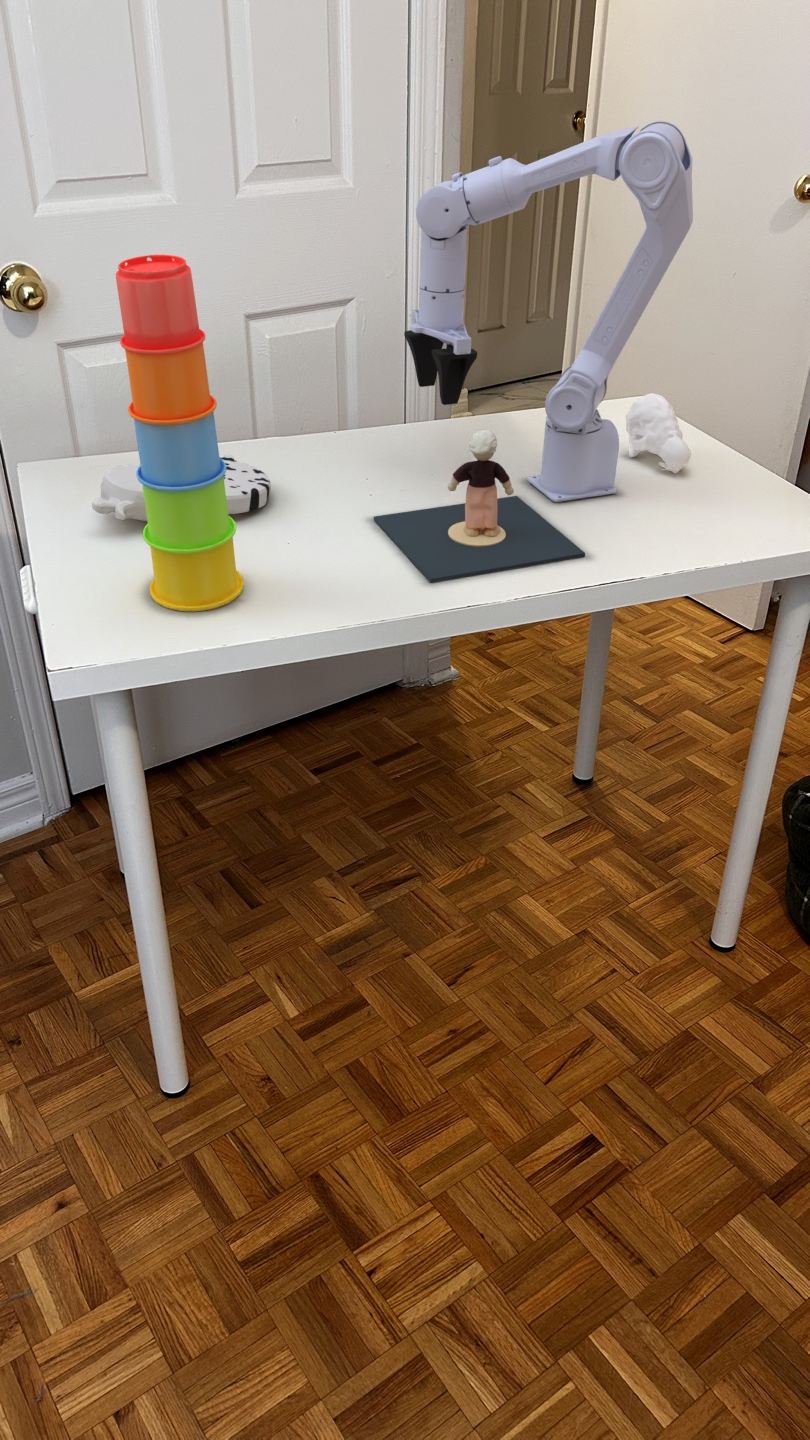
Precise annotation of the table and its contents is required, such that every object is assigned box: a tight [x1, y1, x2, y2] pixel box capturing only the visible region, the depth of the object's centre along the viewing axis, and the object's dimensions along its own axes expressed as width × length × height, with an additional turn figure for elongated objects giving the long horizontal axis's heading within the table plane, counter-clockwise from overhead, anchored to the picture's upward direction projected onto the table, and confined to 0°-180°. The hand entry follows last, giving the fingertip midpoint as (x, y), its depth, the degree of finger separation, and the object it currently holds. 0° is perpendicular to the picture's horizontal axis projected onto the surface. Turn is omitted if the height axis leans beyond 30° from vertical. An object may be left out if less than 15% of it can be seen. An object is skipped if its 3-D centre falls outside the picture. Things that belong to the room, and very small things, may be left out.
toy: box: [91, 454, 272, 522], centre depth 142 cm, size 22×5×20 cm
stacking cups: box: [115, 254, 245, 612], centre depth 114 cm, size 10×10×35 cm
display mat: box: [373, 495, 586, 583], centre depth 137 cm, size 20×18×1 cm
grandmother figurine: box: [447, 429, 515, 537], centre depth 133 cm, size 8×4×13 cm, turn 99°
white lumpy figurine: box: [625, 392, 692, 474], centre depth 157 cm, size 6×8×12 cm
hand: (437, 394), depth 149 cm, fingers open, 7 cm apart
